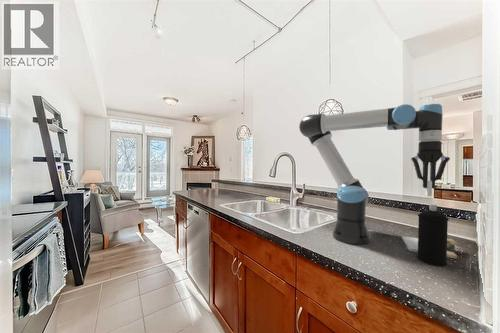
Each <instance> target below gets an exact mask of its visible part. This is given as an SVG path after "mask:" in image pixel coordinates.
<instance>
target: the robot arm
mask: <svg viewBox="0 0 500 333" xmlns="http://www.w3.org/2000/svg"><path fill="white" fill-rule="evenodd" d="M443 115H444V113H443V106H442V105H441V104H440V103H428V104H424V105H421V106H420V107H419V108H418V110H416V108H415V107H414V106H413V105H411V104H400V105H398V106H397V107H391V108H390V107H389V108H381V109H379V108H378V109H372V110H371V109H370V110H362V111H353V112H345V113H335V114H329V115H328V114H327V115H326V114H325V113H317V114H315V113H314V114H308V115H306V116H304V117H303V118H302V119H301V120H300V122H299V131H300V133H301V134H302V136H304V137H306V138H308V140H309V142H310V144H311V146H313V147H316V149H317V151H318V152H319V153H320V157H322V159H323V161H324V163H325V164H326V167H327V168H328V170H329V172H330V174H331V175H332V178H333V179H334V181H335V183H336V184H337V187H336V191H337V193H336V198H337V200H336V202H337V203H336V222H335V224H334V227H333V230H332V237H333V238H334V240H337V241H338V242H339V241H340V242H342V243H345V244H351V245H352V244H353V245H366V244H369V243H370V239H371V238H370V234H369V230H368V227H367V225H366V207H367V205H368V203H369V201H370V196H369V192H368V191H367V190H366V189H365V188H364V187H363V185H362V183H361V182H360V180H359V179H358V178H354V176H353V174H352V173H351V171H350V169H349V167H348V166H347V164H346V162H345V161H344V159H343V157H342V155H341V154H340V152H339V151H338V148H337V147H336V145H335V143H334V141H333V140H332V137H333V136H332V135H333V134H332V132H333V131H334V132H335V131H347V130H349V131H350V130H359V129H371V128H385V127H386V129H387V131H397V130H399V131H400V130H408V129H409V130H410V129H411V130H412V129H418V141H419V142H418V149H417V150H418V151H417V154H416V155H415V156H412V157H410V161H411V162H412V163H413V166H414V169H415V173H416V176H417V179H419V180H422V188H424V189H425V196H426V197H432V196H433V189H435V188H436V181H439V180H442V177H443V175H444V171H445V168H446V166H447V163H448V162H449V161H450V160H451V158H450V157H449V156H445V155H444V153H443V151H442V150H443V149H442V146H443V145H442V143H443V142H442V141H441V140H442V137H443V134H442V133H443V132H442V131H443ZM419 160H420V161H421V162H422V171H421V168H420V164H419ZM439 160H440V163H439V167H438V168H437V162H438V161H439ZM429 167H430V168H429ZM429 169H430V171H429ZM429 172H430V174H429ZM436 172H437V173H436ZM428 175H430V176H429V177H428ZM429 178H430V179H429ZM428 179H429V180H428Z"/></svg>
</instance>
